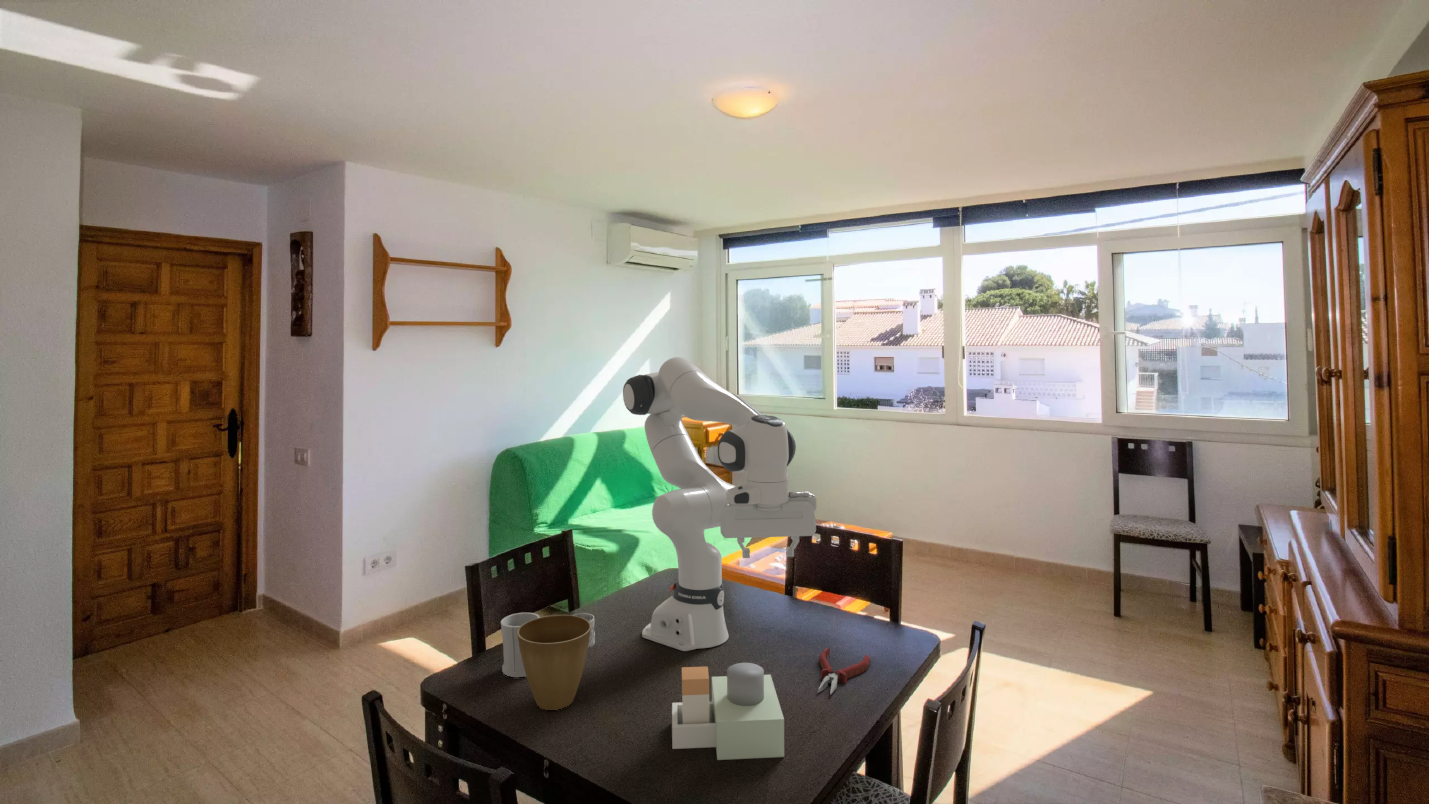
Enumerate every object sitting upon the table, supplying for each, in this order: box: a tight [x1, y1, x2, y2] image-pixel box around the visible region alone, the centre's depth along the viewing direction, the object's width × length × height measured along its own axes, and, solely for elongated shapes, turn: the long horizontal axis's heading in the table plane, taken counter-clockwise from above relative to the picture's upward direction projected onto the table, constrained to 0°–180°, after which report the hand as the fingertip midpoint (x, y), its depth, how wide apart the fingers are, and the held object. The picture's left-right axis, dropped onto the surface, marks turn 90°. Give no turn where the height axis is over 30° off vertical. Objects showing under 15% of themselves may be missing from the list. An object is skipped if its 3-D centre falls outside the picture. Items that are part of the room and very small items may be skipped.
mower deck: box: [671, 662, 785, 761], centre depth 127 cm, size 20×17×12 cm
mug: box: [572, 612, 596, 649], centre depth 170 cm, size 10×7×7 cm, turn 50°
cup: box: [500, 612, 541, 677], centre depth 154 cm, size 10×9×12 cm
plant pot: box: [517, 614, 591, 710], centre depth 140 cm, size 15×15×16 cm
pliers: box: [816, 647, 871, 696], centre depth 150 cm, size 11×20×3 cm, turn 155°
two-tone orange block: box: [681, 665, 710, 724], centre depth 127 cm, size 5×5×12 cm
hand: (768, 556), depth 143 cm, fingers open, 8 cm apart
